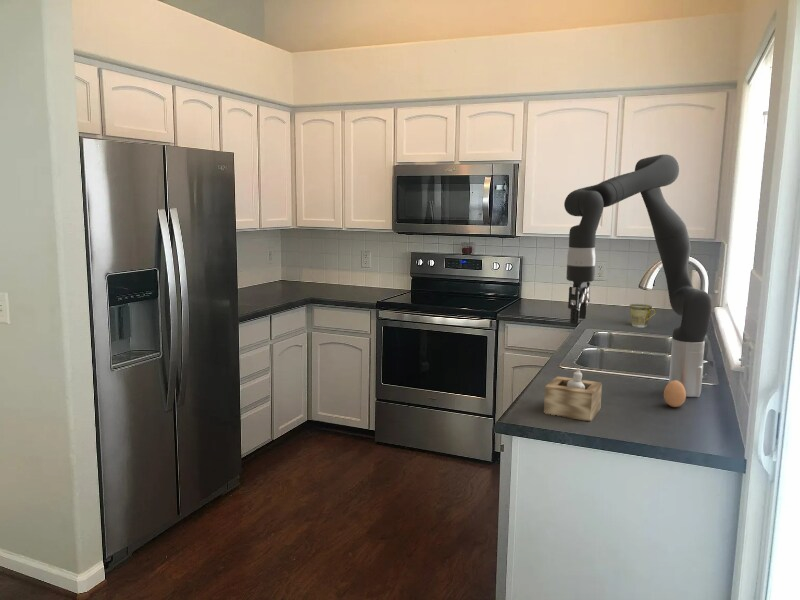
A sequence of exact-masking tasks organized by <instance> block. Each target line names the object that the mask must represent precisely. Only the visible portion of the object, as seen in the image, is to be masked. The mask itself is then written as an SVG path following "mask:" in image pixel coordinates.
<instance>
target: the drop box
mask: <svg viewBox="0 0 800 600" xmlns="http://www.w3.org/2000/svg"><path fill="white" fill-rule="evenodd" d="M570 380H573V377H566V376H561V375H560V376H559V375H557V376H556V377H554V378H553V379H552V380H551V381H550V382H549V383H547V384H546V385H544V402H543V404H544V405H543V414H544V413H545V415H550V414H551V416H555V415H557V416H556V417H561V416H562V417H563V418H566V417H567V419H572V420H579V421H583V422H589V423H590V421H591V422H592V421H593V419H594V418H595V417H596V415H598V413H600V410H601V405H602V392H603V390H602V389H603V382H599V381H593V380H592V381H591V380H585V379H582V381H581V382H582V383H583V384H584V386H585V389H578V388H572V387H567V383H568V381H570ZM562 417H561V418H562Z"/></svg>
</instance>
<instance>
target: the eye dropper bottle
mask: <svg viewBox="0 0 800 600" xmlns="http://www.w3.org/2000/svg"><path fill="white" fill-rule="evenodd" d="M572 375H573V376H572V378H573V380H570V381H568V383H567V387H572V388H578V389H585V386H584V384H583V383H582V382H581V381H582V380H583V373H582V372H581V369H580V368H577V369H576V371H575V372H573V374H572Z"/></svg>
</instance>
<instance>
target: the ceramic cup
mask: <svg viewBox="0 0 800 600" xmlns="http://www.w3.org/2000/svg"><path fill="white" fill-rule="evenodd" d="M651 311H654V313H653V314H652V315H651V313H652V312H651ZM656 312H657V311H656V309H655V308H653V307H652V305H651V304H644V303H630V304H629V313H630V319H631V322H630V323H631V326H632V327H635V328H647V327H648V323H649V320H650V319H651V318H652V317H653V316H655V315H656V314H657V313H656Z"/></svg>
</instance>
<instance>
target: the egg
mask: <svg viewBox="0 0 800 600" xmlns="http://www.w3.org/2000/svg"><path fill="white" fill-rule="evenodd" d="M686 398H687V397H686V391H685V388H684V386H683V385H682V383H680V382H679V381H676V380H674V381H671V382H669V381H668V383H667V384H666V386H665V387H664V389H663V399H664V401H665V403H666V404H667V405H668V406H670V407H672V408H678V407H680V406H682V405H683V404H684V403H685V401H686Z"/></svg>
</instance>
